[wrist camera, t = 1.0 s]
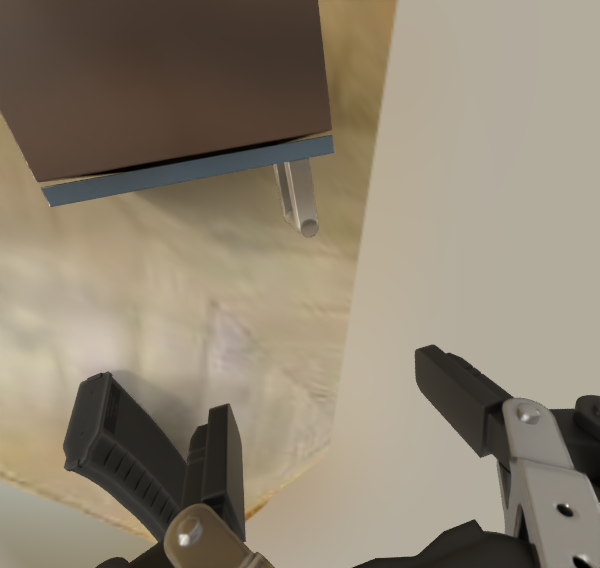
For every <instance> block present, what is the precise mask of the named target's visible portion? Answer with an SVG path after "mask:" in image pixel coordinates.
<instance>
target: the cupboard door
mask: <svg viewBox="0 0 600 568" xmlns="http://www.w3.org/2000/svg"><path fill="white" fill-rule="evenodd" d="M331 153H334V150H333V141H332V135H329V136H323V137H318V138H312V139H307V140H301V141H296V142H290V143H285V144H279V145H274V146H268V147H263V148H257V149H252V150H246V151H240V152H235V153H229V154H224V155H218V156H213V157H207V158H202V159H196V160H191V161H185V162H180V163H174V164H169V165H163V166H158V167H152V168H146V169H141V170H135V171H130V172H124V173H119V174H113V175H108V176H102V177H97V178H91V179H86V180H80V181H75V182H69V183H64V184H58V185H53V186H47V187H42V188H41V190H42V192H43V194H44V196H45V198H46V200H47V202H48V203H49V205H50V207H54V206H59V205H64V204H70V203H75V202H80V201H85V200H91V199H96V198H101V197H106V196H111V195H117V194H122V193H127V192H132V191H138V190H143V189H148V188H153V187H158V186H164V185H169V184H174V183H179V182H185V181H190V180H195V179H200V178H205V177H211V176H216V175H221V174H226V173H231V172H237V171H242V170H247V169H252V168H258V167H263V166H268V165H273V167H274V172H275V177H276V182H277V188H278V193H279V198H280V203H281V209H282V214H283V218H284V220H285V221H286V222H288V223H289V224H290V225H291V226H292V227H294V228H295V229H296V230H297V231H298V232H299V233H301V234H302V235H303V236H305V237H312V236H314V235H315V234H316V233H317V232H318V228H319V225H318V218H317V211H316V204H315V197H314V190H313V183H312V176H311V169H310V162H309V158H310V157H315V156H320V155H325V154H331Z"/></svg>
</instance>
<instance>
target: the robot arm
mask: <svg viewBox="0 0 600 568" xmlns="http://www.w3.org/2000/svg"><path fill="white" fill-rule="evenodd" d="M415 373H416V382H417V385H418V387H419V389H420V391H421V392H422V393H423V394H424V396H425V397H426V398H427V399H428V400H429V401H430V402H431V403H432V405H433V406H434V407H435V408H436V409H437V410H438V411H439V412H440V413H441V415H442V416H443V417H444V418H445V419H446V420H447V421H448V422H449V423H450V424H451V426H452V427H453V428H454V429H455V430H456V431H457V432H458V433H459V434H460V436H461V437H462V438H463V439H464V440H465V441H466V442H467V443H468V444H469V446H470V447H472V449H473V450H474V451H475V452H476V453H477V454H478V456H479V457H480V458H481V457H484V456H487V455H490V454H493V455H494V456H495V457H496V458H497V471H498V477H499V485H500V491H501V498H502V505H503V510H504V519H505V534H502V533H497V532H489V531H483V530H482V529H481V527H480V526H479V524H478V523H477V522H476V520H472V521H469V522H467V523H464V524H461V525H459V526H456V527H454V528H452V529H449V530H446V531H444V532H443V533H442V534H440V535H439V536H438V537H437V538H436V539H435V540H434V541H433V542H432V543H430V544H429V545H428V546H427V547H426V548H425V549H424V550H423V551H422V552H420V553H419V554H418V555H416V556H413V557H394V558H375V559H373V560H370V561H368V562H365V563H363V564H360V565H358V566H355V567H353V568H600V504H599V503H600V396H595V395H586V396H582V397H580V398H578V399H577V401H576V405H575V409H547V408H546V407H545V406H543V405H542V404H540V403H537V402H535V401H532V400H529V399H525V398H514V397H512V396H511V395H510V394H509V393H507V392H506V391H505V390H503V389H502V388H501V387H499V386H498V385H497V384H495V383H494V382H493V381H492V380H490V379H489V378H488V377H486V376H485V375H484V374H481V372H480V371H478V370H477V369H476V368H473V366H472V365H471V364H469V363H468V362H467V361H465V360H464V359H463V358H461V357H459V356H456V355H454V354H451V353H447V354H446V353H444V352H443V351H442V350H441V349H439V348H438V347H437V346H435V345H429V346H426V347H422V348H419V349H416V351H415ZM245 539H246V538H245V514H244V489H243V464H242V445H241V439H240V434H239V430H238V427H237V424H236V421H235V418H234V415H233V412H232V409H231V406H230V404H229V403H228V404H224V405H221V406H217V407H214V408H211V409H210V410H209V417H208V424H206V425H202V426H199V427H198V428H197V429H196V431H195V433H194V435H193V436H192V438H191V440H190V447H189V455H188V459H187V466H186V472H185V479H184V485H183V491H182V498H181V504H180V510H179V514H178V515H177V516H176V517H175V518H174V520H173V521H172V522H171V524H170V526H169V527H168V529H167V532H166V535H165V537H164V538H163V539H162V540H161V541H160V542H158V543H157V544H156V545H155V546H153V547H152V548H150V549H149V550H147V551H146V552H145V553H143V554H142V555H140V556H139V557H137V558H136V559H135V560H133V561H132V562H130V563H129V562H128V561H127V560H125V559H124V558H120V557H115V558H111V559H109V560H106V561H104V562H103V563H101V564H100V565H98V566H97V567H96V568H275V567H273V565H272V564H271V563H270V562H269V561H268V560H267V559H266V558H265V557H264V556H263V555H262V554H260V553H258V552H256V553H253V552H252V551H251V550H249V548H248V547H247V546H246V545H245V544H244V543H243V542H245V541H246V540H245Z"/></svg>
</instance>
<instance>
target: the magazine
mask: <svg viewBox="0 0 600 568" xmlns="http://www.w3.org/2000/svg"><path fill="white" fill-rule="evenodd" d="M63 449H64V452H65V455H66V457H67V458H66V461H65V465H64V468H65V469H66V470H68V471H73V472H76V473H78V474H80V475H82V476H84V477H86V478H88V479H89V480H91V481H93V482H94V483H96V484H97V485H99V486H100V487H102V488H103V489H104V490H106V491H107V492H108V493H110V494H111V495H112V496H113V497H114V498H115V499H116V500H117V501H118V502H119V503H121V504H122V505H123V506H124V507H125V508H126V509H127V510H129V511H130V512H131V513H132V514H133V515H134V516H135V517H136V518H137V519H138V520H139V521H140V522H141V523H142V524H143V525H144V526H145V527H146V528H147V529H148V530H149V531H150V533H151V534H152V535H153V536H154V537H155V539H156V540H157V541H158V542H160V541H161V540H162V539H163V538H164V537H165V535H166V532H167V529H168V527H169V526H170V524H171V522H172V521H173V520H174V518H175V517H176V516H177V515H178V514H179V510H180V504H181V498H182V491H183V485H184V479H185V472H186V466H187V465H186V463H185V462H184V460H183V459H182V457H181V456H180V454H179V453H178V451H177V450H176V449H175V447H174V446H173V445H172V443H171V442H170V441H169V439H168V438H167V437H166V436H165V434H164V433H163V432H162V431H161V429H160V428H159V427H158V426H157V425H156V423H155V422H154V421H153V420H152V419H151V418H150V417H149V415H148V414H147V413H146V412H145V411H144V410H143V409H142V408H141V407H140V406H139V405H138V404H137V403H136V402H135V401H134V399H133V398H132V397H131V396H130V395H129V394H128V393H127V392H126V391H125V390H124V389H123V388H122V387H121V386H120V385H119V384H118V383H117V382H116V381H115V380H114V379H113V378H112V374H111V373H109V372H106V373H100V374H97V375H95V376H92V377H90V378H88V379H87V380H86V381H83V382H81V384H80V386H79V389H78V393H77V397H76V400H75V404H74V408H73V411H72V415H71V418H70V422H69V426H68V429H67V433H66V437H65V440H64V444H63Z"/></svg>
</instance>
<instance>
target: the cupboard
mask: <svg viewBox="0 0 600 568" xmlns="http://www.w3.org/2000/svg"><path fill="white" fill-rule="evenodd" d="M0 113H1V115H2V116H3V118H4V120H5V122H6V124H7V126H8V128H9V130H10V132H11V134H12V136H13V138H14V140H15V142H16V144H17V146H18V148H19V150H20V151H21V153H22V155H23V157H24V159H25V161H26V163H27V165H28V167H29V169H30V171H31V173H32V175H33V177H34V179H35V181H36V182H47V181H57V180H66V179H75V178H84V177H93V176H103V175H112V174H119V173H124V172H130V171H135V170H141V169H146V168H152V167H158V166H163V165H169V164H174V163H180V162H185V161H191V160H196V159H202V158H207V157H213V156H218V155H224V154H229V153H235V152H240V151H246V150H252V149H257V148H263V147H268V146H274V145H279V144H285V143H289V142H292V141H296V140H299V139H303V138H306V137H310V136H313V135H317V134H320V133H324V132H327V131H330V130H332V125H331V116H330V107H329V98H328V89H327V80H326V70H325V61H324V52H323V43H322V34H321V24H320V15H319V6H318V0H0Z"/></svg>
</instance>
